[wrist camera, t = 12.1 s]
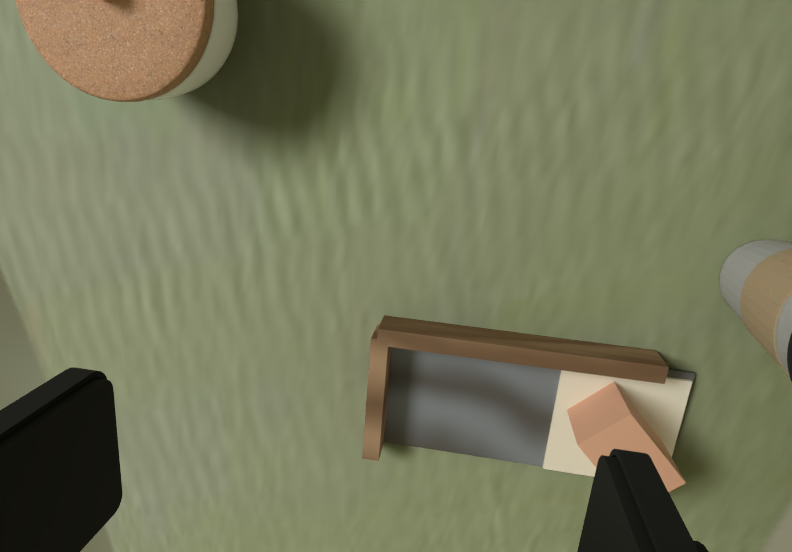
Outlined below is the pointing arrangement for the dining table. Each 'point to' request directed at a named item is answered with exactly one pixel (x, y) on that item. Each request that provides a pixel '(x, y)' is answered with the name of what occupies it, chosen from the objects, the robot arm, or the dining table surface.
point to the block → (619, 432)
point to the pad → (650, 399)
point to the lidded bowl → (132, 43)
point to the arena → (481, 386)
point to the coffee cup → (763, 294)
